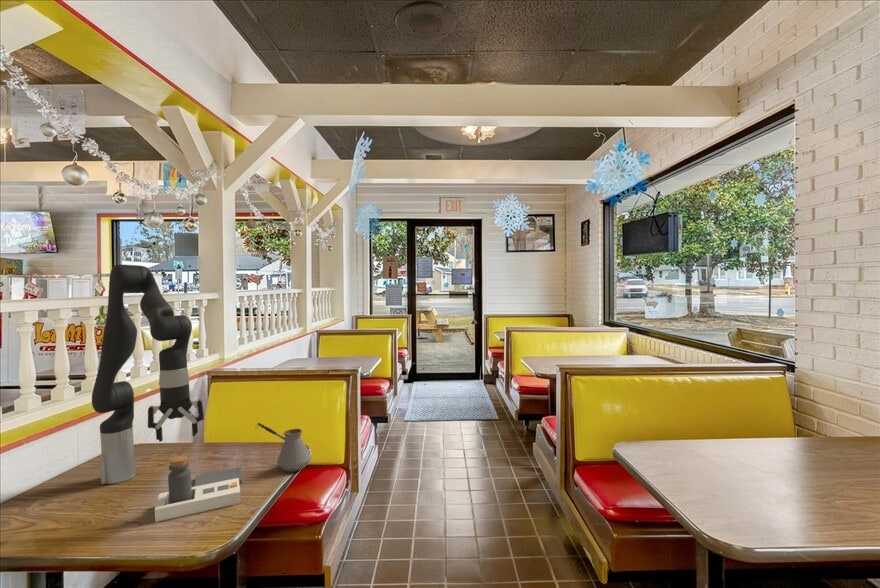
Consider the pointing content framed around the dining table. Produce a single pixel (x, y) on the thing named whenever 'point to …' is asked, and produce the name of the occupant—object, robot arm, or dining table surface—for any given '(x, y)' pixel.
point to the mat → (218, 476)
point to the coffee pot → (291, 450)
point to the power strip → (200, 500)
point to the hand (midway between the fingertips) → (177, 438)
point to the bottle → (179, 480)
